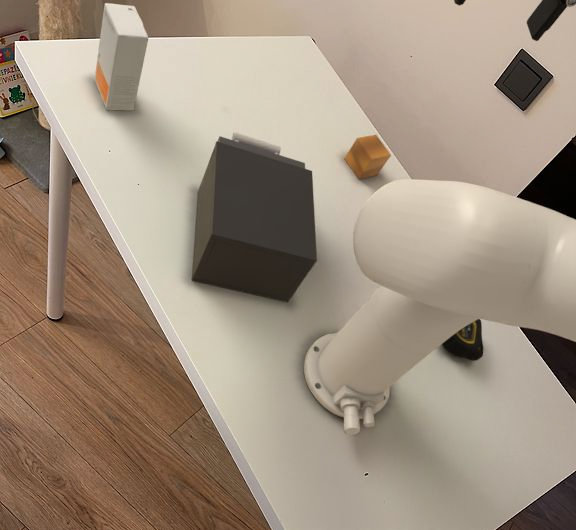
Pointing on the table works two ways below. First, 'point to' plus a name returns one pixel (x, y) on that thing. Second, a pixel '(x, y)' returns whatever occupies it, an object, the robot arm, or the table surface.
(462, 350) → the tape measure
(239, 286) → the drawer cabinet
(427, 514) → the table surface
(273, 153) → the dark grey box
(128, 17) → the cosmetic box
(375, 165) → the block
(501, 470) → the table surface
